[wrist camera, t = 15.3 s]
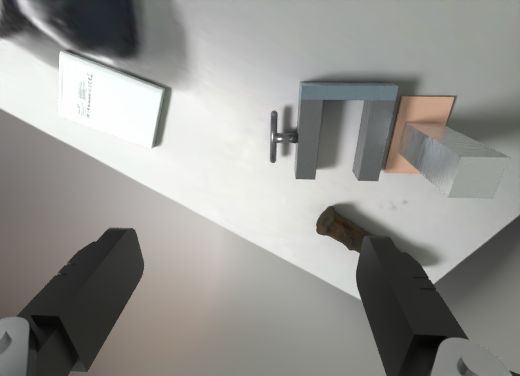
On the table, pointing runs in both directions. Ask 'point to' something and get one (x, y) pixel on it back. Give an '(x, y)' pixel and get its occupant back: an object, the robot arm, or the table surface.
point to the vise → (309, 122)
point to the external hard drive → (109, 100)
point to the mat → (414, 112)
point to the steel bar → (452, 160)
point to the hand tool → (341, 229)
